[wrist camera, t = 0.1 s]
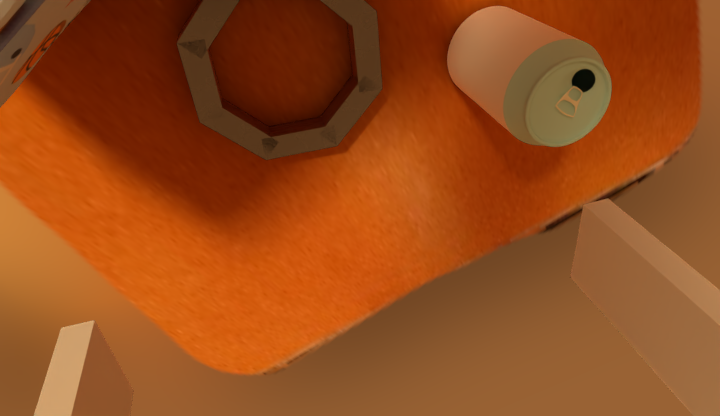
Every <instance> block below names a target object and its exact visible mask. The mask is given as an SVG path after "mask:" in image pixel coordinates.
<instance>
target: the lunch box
mask: <svg viewBox="0 0 720 416" xmlns="http://www.w3.org/2000/svg"><path fill="white" fill-rule="evenodd" d="M90 1H91V0H0V107H1V106H2V105H3V104H4V103H5V102H6V101H7V99H8V98H9V97H10V96H11V95H12V94H13V93H14V92H15V90H16V89H17V88H18V87H19V85H20V84H21V83H22V82H23V80H24V79H25V78H26V77H27V75H28V74H29V73H30V72H31V70H32V69H33V68H34V66H35V65H36V64H37V63H38V61H39V60H40V59H41V57H42V56H43V55H44V53H45V52H46V51H47V50H48V48H49V47H50V46H51V45H52V43H53V42H54V41H55V40H56V39H57V37H58V36H59V35H60V34H61V33H62V32H63V31H64V29H65V28H66V27H67V26H68V25H69V24H70V23H71V21H72V20H73V19H74V18H75V17H76V16H77V15H78V14H79V13H80V12H81V10H82V9H83V8H84V7H85V6H86V5H87V4H88V3H89V2H90Z"/></svg>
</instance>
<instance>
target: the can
mask: <svg viewBox="0 0 720 416" xmlns="http://www.w3.org/2000/svg"><path fill="white" fill-rule="evenodd" d="M447 66H448V71H449V74H450V77H451V79H452V81H453V82H454V83H455V85H456V86H457V87H458V88H459V89H460V90H462V91H463V92H464V93H465V94H466V95H467V96H469V97H470V98H471V99H472V100H473V101H474V102H475V103H477V104H478V105H479V106H480V107H481V108H482V109H484V110H485V111H486V112H487V113H488V114H489V115H490V116H492V117H493V118H494V119H495V120H496V121H497V122H499V123H500V124H501V125H502V126H503V127H504V128H505V129H507V130H508V131H509V132H510V133H511V134H512V135H513V136H515V137H516V138H517V139H519V140H520V141H522V142H524V143H527V144H531V145H545V146H549V147H561V146H566V145H569V144H571V143H574V142H576V141H578V140H580V139H581V138H583V137H584V136H585V135H587V134H588V133H589V132H590V131H591V130H592V129H593V128H594V127H595V126H596V125H597V124H598V123H599V121H600V120H601V119H602V117H603V115H604V114H605V112H606V110H607V108H608V105H609V102H610V99H611V93H612V82H611V77H610V74H609V72H608V70H607V69H606V68H605V66H604V63H603V60H602V58H601V56H600V55H599V53H598V52H597V51H596V50H595V49H594V48H593V47H592V46H591V45H589V44H588V43H586V42H584V41H582V40H579V39H577V38H575V37H573V36H570V35H568V34H566V33H564V32H562V31H559V30H557V29H555V28H553V27H551V26H548V25H546V24H544V23H542V22H539V21H537V20H535V19H533V18H531V17H528V16H526V15H524V14H522V13H520V12H517V11H515V10H513V9H511V8H508V7H504V6H491V7H487V8H484V9H481V10H479V11H477V12H475V13H473V14H472V15H471V16H469V17H468V18H467V19H466V20H465V21H464V22H463V23H462V24H461V25H460V26H459V28H458V29H457V30H456V32H455V34H454V36H453V38H452V40H451V42H450V45H449V49H448V55H447Z"/></svg>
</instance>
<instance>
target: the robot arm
mask: <svg viewBox="0 0 720 416" xmlns="http://www.w3.org/2000/svg"><path fill="white" fill-rule="evenodd" d="M570 278H571V279H572V280H573V281H574V282H575V283H576V285H577V286H578V287H579V288H580V289H581V290H582V291H583V292H584V294H585V295H586V296H587V297H588V298H589V299H590V300H591V301H592V302H593V304H594V305H595V306H596V307H597V308H598V309H599V310H600V311H601V313H602V314H603V315H604V316H605V317H606V318H607V319H608V321H609V322H610V323H611V324H612V325H613V326H614V327H615V328H616V329H617V331H618V332H619V333H620V334H621V335H622V336H623V337H624V338H625V340H626V341H627V342H628V343H629V344H630V345H631V346H632V347H633V349H634V350H635V351H636V352H637V353H638V354H639V355H640V356H641V357H642V359H643V360H644V361H645V362H646V363H647V364H648V365H649V366H650V368H651V369H652V370H653V371H654V372H655V373H656V374H657V376H658V377H659V378H660V379H661V380H662V381H663V382H664V383H665V384H666V386H667V387H668V388H669V389H670V390H671V391H672V392H673V394H675V396H676V397H677V398H678V399H679V400H680V401H681V402H682V404H683V405H685V407H686V408H687V409H688V410H689V411H690V413H691V414H692V415H693V416H720V290H719V289H718V288H716V287H715V286H714V285H713V284H712V283H710V282H709V281H708V280H707V279H705V278H704V277H703V276H702V275H701V274H699V273H698V272H697V271H696V270H694V269H693V268H692V267H691V266H690V265H688V264H687V263H686V262H685V261H683V260H682V259H681V258H680V257H679V256H677V255H676V254H675V253H674V252H672V251H671V250H670V249H669V248H668V247H667V246H665V245H664V244H663V243H662V242H660V241H659V240H658V239H657V238H656V237H654V236H653V235H652V234H651V233H649V232H648V231H647V230H645V228H643V227H642V226H641V225H640V224H638V223H637V222H636V221H635V220H633V219H632V218H631V217H630V216H629V215H627V214H626V213H625V212H624V211H623V210H621V209H620V208H619V207H618V206H617V205H615V204H614V203H613V202H612V201H610V200H609V199H604V200H600V201H596V202H591V203H587V204H584V205H583V210H582V216H581V221H580V227H579V232H578V238H577V244H576V249H575V255H574V260H573V266H572V272H571V277H570ZM133 392H134V391H133V389H132V387H131V385H130V383H129V381H128V380H127V378H126V376H125V374H124V372H123V370H122V369H121V367H120V365H119V363H118V361H117V360H116V358H115V356H114V354H113V353H112V351H111V349H110V347H109V345H108V344H107V342H106V340H105V338H104V336H103V335H102V333H101V331H100V329H99V327H98V325H97V324H96V322H95V321H94V320H93V321H89V322H85V323H81V324H76V325H72V326H68V327H64V328H61V331H60V334H59V337H58V340H57V343H56V347H55V350H54V353H53V356H52V359H51V363H50V366H49V369H48V372H47V375H46V379H45V382H44V385H43V388H42V391H41V394H40V398H39V401H38V404H37V407H36V411H35V414H34V416H130V414H131V406H132V399H133Z"/></svg>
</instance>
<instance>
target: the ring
mask: <svg viewBox="0 0 720 416" xmlns="http://www.w3.org/2000/svg"><path fill="white" fill-rule="evenodd" d="M320 1H322V2H323V3H324V4H325V5H327V6H328V7H329V8H330V9H332V10H333V11H334V12H335V13H337V14H338V15H339V16H340V17H342V18H343V19H344V20H345V21H347V29H348V38H349V48H350V57H351V67H352V76H351V77H350V79H349V80H348V81H347V83H346V84H345V85H344V87H343V88H342V89H341V90H340V92H339V93H338V94H337V96H336V97H335V98H334V100H333V101H332V102H331V104H330V105H329V106H328V108H327V109H326V110H325V112H324V113H323V114H322V115H321V117H317V118H312V119H306V120H301V121H296V122H290V123H285V124H280V125H274V126H267V125H265V124H264V123H262V122H260V121H259V120H257V119H256V118H254V117H252V116H251V115H249V114H247V113H246V112H244V111H242V110H241V109H239V108H238V107H236V106H234V105H233V104H231V103H229V102H228V101H226V100H224V99H223V98H222V96H221V92H220V88H219V85H218V81H217V77H216V73H215V69H214V65H213V61H212V58H211V54H210V50H209V47H210V45H211V44H212V42H213V40H214V39H215V37H216V36H217V34H218V33H219V31H220V30H221V28H222V27H223V25H224V23H225V22H226V20H227V19H228V17H229V16H230V14H231V13H232V11H233V10H234V8H235V6H236V5H237V3H238V2H239V0H200V1H199V3H198V4H197V6H196V7H195V9H194V11H193V12H192V14H191V16H190V17H189V19H188V20H187V22H186V24H185V25H184V27H183V28H182V30H181V32H180V33H179V35H178V39H177V47H178V50H179V53H180V57H181V60H182V64H183V67H184V70H185V74H186V77H187V81H188V84H189V88H190V91H191V94H192V98H193V101H194V105H195V108H196V111H197V115H198V118H199V122H200V123H202V124H204V125H205V126H207V127H209V128H211V129H212V130H214V131H216V132H218V133H219V134H221V135H223V136H225V137H226V138H228V139H230V140H232V141H233V142H235V143H237V144H239V145H240V146H242V147H244V148H246V149H247V150H249V151H251V152H253V153H254V154H256V155H258V156H260V157H261V158H263V159H265V160H269V159H274V158H279V157H284V156H289V155H294V154H299V153H304V152H310V151H315V150H320V149H325V148H330V147H335V146H338V144H339V143H340V142H341V141H342V139H343V138H344V137H345V136H346V134H347V133H348V132H349V131H350V129H351V128H352V127H353V126H354V124H355V123H356V122H357V120H358V119H359V118H360V117H361V115H362V114H363V113H364V112H365V110H366V109H367V108H368V107H369V105H370V104H371V103H372V101H373V100H374V99H375V98H376V96H377V95H378V94H379V93H380V91H381V90H382V75H381V62H380V48H379V35H378V21H377V11H376V10H375V9H374V8H372V7H371V6H370V5H369V4H368V3H366V2H365V1H364V0H320Z"/></svg>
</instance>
